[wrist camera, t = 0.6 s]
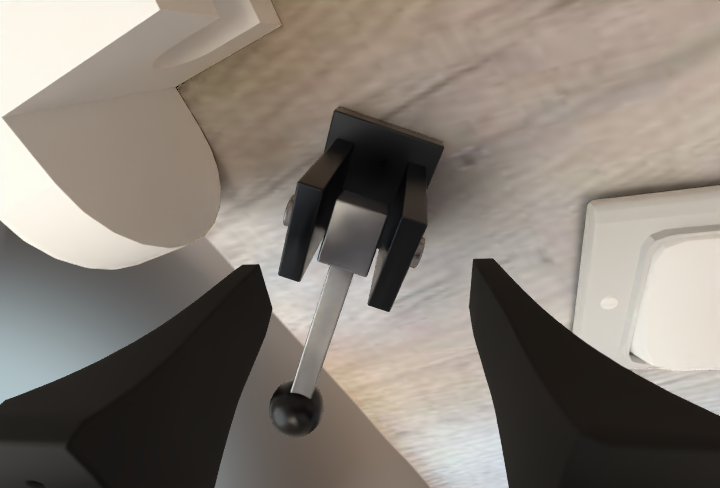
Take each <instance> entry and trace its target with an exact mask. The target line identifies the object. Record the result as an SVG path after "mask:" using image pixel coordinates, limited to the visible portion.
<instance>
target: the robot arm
mask: <svg viewBox="0 0 720 488" xmlns="http://www.w3.org/2000/svg"><path fill="white" fill-rule="evenodd" d="M469 310H470V316H471V323H472V329H473V334H474V338H475V342H476V345H477V348H478V352H479V355H480V359H481V362H482V365H483V369H484V372H485V376H486V379H487V382H488V386H489V389H490V393H491V396H492V400H493V404H494V408H495V412H496V418H497V423H498V428H499V434H500V439H501V444H502V450H503V456H504V461H505V467H506V473H507V479H508V485H509V488H720V416H719V415H716V414H714V413H712V412H710V411H708V410H706V409H704V408H702V407H700V406H698V405H695V404H693V403H691V402H689V401H687V400H685V399H683V398H681V397H679V396H677V395H674V394H672V393H670V392H669V391H667V390H665V389H663V388H661V387H659V386H657V385H655V384H654V383H652V382H650V381H648V380H646V379H644V378H643V377H641V376H639V375H637V374H635V373H634V372H632V371H630V370H629V369H627V368H625V367H623V366H622V365H620V364H618V363H617V362H615V361H614V360H612V359H611V358H609V357H607V356H606V355H604V354H603V353H601V352H599V351H598V350H596V349H595V348H593V347H592V346H590V345H589V344H587V343H586V342H585V341H583V340H582V339H580V338H579V337H578V336H576V335H575V334H574V333H572V332H571V331H570V330H568V329H567V328H566V327H564V326H563V325H562V324H560V323H559V322H558V321H557V320H555V319H554V318H553V317H552V316H551V315H550V314H548V313H547V312H546V311H545V310H544V309H543V308H542V307H540V306H539V305H538V304H537V303H536V302H535V301H534V300H533V299H532V298H531V297H530V296H529V295H528V294H527V293H526V292H525V291H524V290H523V289H522V288H521V287H520V286H519V285H518V284H517V283H516V282H515V281H514V280H513V279H512V278H511V277H510V276H509V275H508V274H507V273H506V272H505V271H504V270H503V268H502V267H501V266H500V265H499V264H498V263H497V262H496V261H495V260H494V259H493V258H492V259H473V267H472V279H471V290H470V302H469ZM271 313H272V305H271V302H270V299H269V295H268V292H267V289H266V285H265V282H264V279H263V275H262V272H261V269H260V265H259V264H255V265H242V266H240V267H239V268H237V269H236V270H235V271H233V272H232V273H231V274H229V275H228V276H227V277H226V278H224V279H223V280H222V281H220V282H219V283H218V284H217V285H216V286H214V287H213V288H212V289H211V290H209V291H208V292H207V293H205V294H204V295H203V296H202V297H200V298H199V299H198V300H196V301H195V302H194V303H192V304H191V305H190V306H188V307H187V308H185V309H184V310H183V311H181V312H180V313H179V314H177V315H176V316H174V317H173V318H172V319H170V320H169V321H167V322H166V323H164V324H163V325H161V326H160V327H158V328H157V329H155V330H153V331H152V332H150V333H148V334H147V335H145V336H143V337H142V338H140V339H138V340H137V341H135V342H133V343H131V344H130V345H128V346H126V347H124V348H122V349H120V350H118V351H117V352H115V353H113V354H111V355H109V356H107V357H105V358H104V359H102V360H100V361H98V362H96V363H93V364H91V365H89V366H87V367H85V368H83V369H81V370H79V371H76V372H74V373H72V374H70V375H67V376H65V377H63V378H61V379H58V380H56V381H54V382H51V383H49V384H46V385H44V386H41V387H38V388H36V389H33V390H31V391H29V392H26V393H23V394H21V395H18V396H16V397H13V398H10V399H8V400H5V401H4V402H3V403H1V405H0V488H214V487H215V483H216V479H217V475H218V471H219V467H220V463H221V459H222V455H223V451H224V448H225V445H226V441H227V437H228V434H229V430H230V427H231V423H232V420H233V417H234V414H235V410H236V407H237V404H238V401H239V398H240V396H241V393H242V390H243V388H244V386H245V383H246V381H247V378H248V376H249V374H250V371H251V369H252V367H253V364H254V362H255V360H256V357H257V355H258V352H259V350H260V347H261V345H262V343H263V340H264V338H265V335H266V332H267V328H268V324H269V321H270V317H271Z"/></svg>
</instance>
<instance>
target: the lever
mask: <svg viewBox="0 0 720 488" xmlns="http://www.w3.org/2000/svg"><path fill="white" fill-rule="evenodd" d="M387 218H388V204H385V203H382V202H379V201H377V200H374V199H371V198H368V197H365V196H362V195H359V194H356V193H353V192H350V191H347V190H343V191H342V192H341V194H340V195H339V196H338V197H337V198H336V200H335V202H334V205H333V208H332V212H331V215H330V218H329V222H328V225H327V228H326V232H325V235H324V238H323V242H322V245H321V248H320V252H319V255H318V258H317V260H318V261H319V262H322V263H325V264H328V265H330V267H329V270H328V273H327V277H326V280H325V283H324V286H323V289H322V293H321V296H320V299H319V302H318V305H317V308H316V312H315V315H314V318H313V321H312V324H311V328H310V331H309V334H308V337H307V340H306V343H305V347H304V350H303V353H302V356H301V360H300V363H299V366H298V369H297V372H296V375H295V378H294V379H292V380H288V381H286V382H285V383H283V384H282V385H281V386H279V387H278V389H277V390H276V391H275V393H274V394H273V396H272V398H271V401H270V407H269V413H270V418H271V421H272V424H273V425H274V427H275V428H276V429H277V430H278V431H279V432H280V433H281V434H283V435H285V436H288V437H294V438H295V437H302V436H305V435H307V434H309V433H310V432H311V431H313V430H314V429H315V428H316V427H317V425H318V424H319V422H320V421H321V418H322V416H323V412H324V400H323V396H322V394H321V392H320V390H319V389H318V387H317V386H316V383H317V380H318V377H319V374H320V371H321V368H322V365H323V363H324V360H325V357H326V354H327V351H328V348H329V345H330V342H331V339H332V336H333V333H334V330H335V327H336V324H337V321H338V318H339V315H340V312H341V310H342V307H343V304H344V301H345V298H346V295H347V292H348V289H349V286H350V283H351V280H352V277H353V274H354V273H355V274H358V275H361V276H364V277H366V276H367V275H368V272H369V269H370V267H371V264H372V261H373V258H374V255H375V252H376V250H377V247H378V244H379V241H380V238H381V235H382V233H383V230H384V227H385V224H386V221H387Z"/></svg>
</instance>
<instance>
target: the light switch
mask: <svg viewBox="0 0 720 488" xmlns="http://www.w3.org/2000/svg"><path fill="white" fill-rule="evenodd" d="M573 333H574V334H575V335H576V336H578V337H579V338H580V339H582V340H583V341H585V342H586V343H587V344H589V345H590V346H592V347H593V348H595V349H596V350H598V351H599V352H601V353H603V354H604V355H606V356H607V357H609V358H611V359H612V360H614V361H615V362H617V363H618V364H620V365H622V366H623V367H625V368H627V369H629V370H633V369H665V370H669V371H675V370H719V369H720V185H717V186H709V187H700V188H692V189H683V190H675V191H666V192H658V193H649V194H641V195H632V196H624V197H615V198H607V199H598V200H593V201H591V202H589V204H588V205H587V213H586V221H585V230H584V238H583V247H582V255H581V264H580V273H579V281H578V290H577V298H576V307H575V316H574V324H573ZM629 352H631V353H629ZM632 353H633V354H632Z"/></svg>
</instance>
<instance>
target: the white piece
mask: <svg viewBox="0 0 720 488" xmlns="http://www.w3.org/2000/svg"><path fill="white" fill-rule="evenodd" d="M280 26H282V24H281V22H280V20H279V18H278V15H277V13H276V11H275V9H274V7H273V5H272V2H271V0H0V220H1V221H2V222H3V223H4V224H5V225H6V226H8V227H9V228H10V229H11V230H12V231H13V232H14V233H15V234H17V235H18V236H19V237H20V238H21V239H22V240H24V241H25V242H27V243H29V244H30V245H32V246H34V247H36V248H38V249H39V250H41V251H43V252H45V253H47V254H49V255H50V256H52V257H54V258H56V259H59V260H62V261H66V262H69V263H72V264H75V265H79V266H82V267H86V268H96V269H112V270H115V269H120V268H125V267H129V266H134V265H138V264H141V263H143V262H146V261H148V260H151V259H153V258H156V257H159V256H161V255H164V254H166V253H169V252H172V251H174V250H177V249H179V248H182V247H184V246H187V245H190V244H191V243H193V242H195V241H196V240H198V239H200V238H202V237H203V236H205V234H206V233H207V232H208V231H209V229H210V228H211V227H212V225H213V224H214V223H215V220H216V217H217V214H218V211H219V208H220V197H221V186H220V180H219V173H218V168H217V165H216V162H215V159H214V157H213V154H212V151H211V148H210V146H209V144H208V142H207V140H206V138H205V136H204V135H203V133H202V131H201V129H200V127H199V125H198V124H197V122H196V120H195V119H194V117H193V115H192V114H191V112H190V110H189V109H188V107H187V105H186V104H185V102H184V100H183V99H182V97H181V95H180V94H179V92H178V90H177V89H176V86H178V85H180V84H181V83H183V82H185V81H187V80H188V79H190V78H192V77H193V76H195V75H197V74H199V73H200V72H202V71H204V70H206V69H207V68H209V67H211V66H213V65H214V64H216V63H218V62H219V61H221V60H223V59H225V58H226V57H228V56H230V55H232V54H233V53H235V52H237V51H239V50H240V49H242V48H244V47H245V46H247V45H249V44H251V43H252V42H254V41H256V40H258V39H259V38H261V37H263V36H265V35H266V34H268V33H270V32H272V31H273V30H275V29H277V28H278V27H280Z"/></svg>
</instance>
